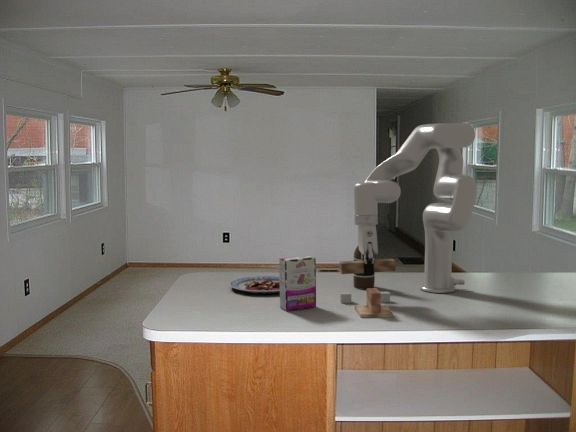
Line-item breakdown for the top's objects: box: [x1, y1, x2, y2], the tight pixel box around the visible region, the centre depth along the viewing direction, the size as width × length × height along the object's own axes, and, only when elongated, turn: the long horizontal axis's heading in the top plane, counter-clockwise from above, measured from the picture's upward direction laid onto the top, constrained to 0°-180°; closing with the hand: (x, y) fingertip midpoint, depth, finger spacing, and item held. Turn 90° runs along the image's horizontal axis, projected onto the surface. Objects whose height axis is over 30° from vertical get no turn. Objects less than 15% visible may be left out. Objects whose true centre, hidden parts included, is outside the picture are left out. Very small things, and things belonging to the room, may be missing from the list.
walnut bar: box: [339, 258, 396, 275], centre depth 193 cm, size 18×4×4 cm, turn 94°
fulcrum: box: [354, 287, 394, 318], centre depth 180 cm, size 10×10×7 cm
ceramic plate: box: [229, 275, 280, 295], centre depth 215 cm, size 26×26×3 cm
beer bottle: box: [353, 245, 376, 290], centre depth 215 cm, size 8×8×24 cm
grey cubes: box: [339, 291, 391, 304], centre depth 194 cm, size 16×2×3 cm, turn 94°
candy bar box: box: [278, 255, 317, 312], centre depth 186 cm, size 11×5×16 cm, turn 117°
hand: (367, 273), depth 194 cm, fingers closed on walnut bar, 3 cm apart
